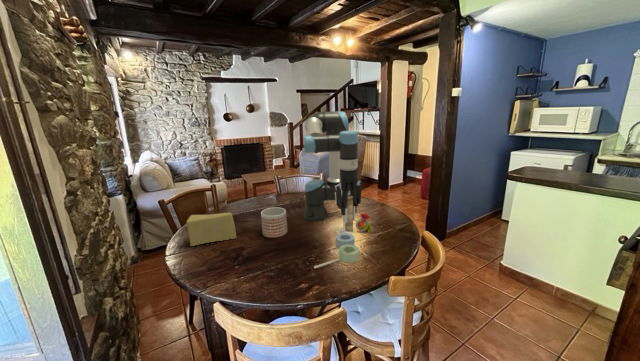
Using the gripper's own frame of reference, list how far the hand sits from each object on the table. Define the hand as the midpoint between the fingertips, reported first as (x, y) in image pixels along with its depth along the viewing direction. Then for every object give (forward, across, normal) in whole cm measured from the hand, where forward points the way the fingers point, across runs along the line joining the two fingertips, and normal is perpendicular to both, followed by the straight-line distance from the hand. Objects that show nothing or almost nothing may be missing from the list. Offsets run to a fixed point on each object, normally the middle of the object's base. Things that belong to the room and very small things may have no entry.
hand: (348, 220), depth 117 cm
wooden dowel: (+5, 0, 0) cm, 5 cm away
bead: (+18, 0, 0) cm, 18 cm away
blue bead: (+18, +5, +11) cm, 22 cm away
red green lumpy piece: (+18, +22, +18) cm, 34 cm away
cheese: (+18, -52, +50) cm, 75 cm away
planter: (+18, -21, +43) cm, 51 cm away
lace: (+18, -12, 0) cm, 22 cm away
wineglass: (+18, +12, +23) cm, 32 cm away
